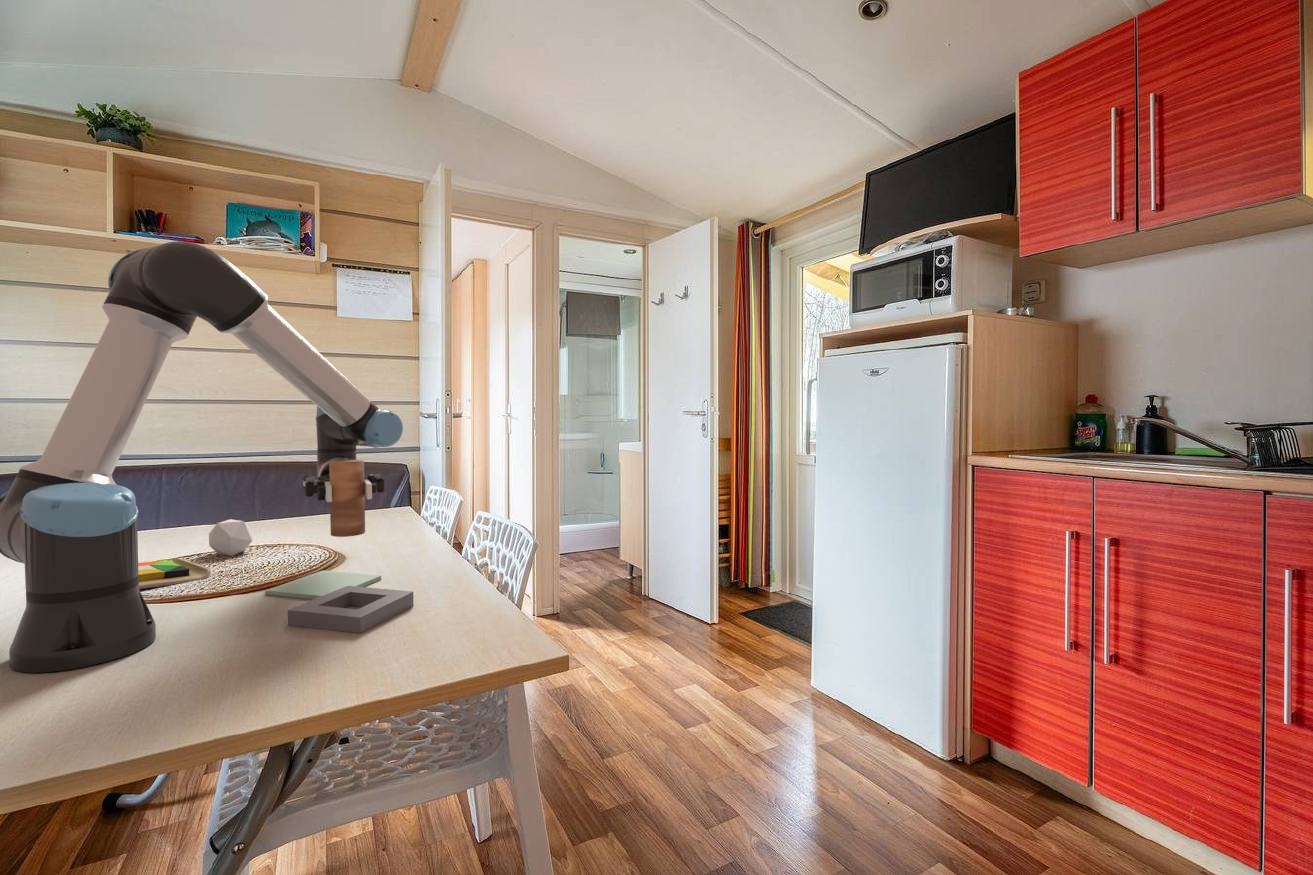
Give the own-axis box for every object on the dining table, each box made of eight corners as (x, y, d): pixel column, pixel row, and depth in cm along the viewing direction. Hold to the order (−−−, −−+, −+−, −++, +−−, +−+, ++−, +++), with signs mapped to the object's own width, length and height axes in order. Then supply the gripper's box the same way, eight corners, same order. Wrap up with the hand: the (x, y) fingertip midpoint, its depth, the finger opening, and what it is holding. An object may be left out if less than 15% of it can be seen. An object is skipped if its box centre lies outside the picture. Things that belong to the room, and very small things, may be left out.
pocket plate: (360, 633, 94) (360, 617, 94) (287, 625, 97) (287, 609, 97) (413, 605, 107) (413, 591, 107) (347, 599, 110) (347, 585, 110)
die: (261, 554, 143) (259, 518, 147) (236, 544, 135) (234, 506, 140) (227, 567, 142) (225, 530, 147) (199, 557, 135) (199, 519, 139)
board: (330, 601, 109) (330, 596, 109) (265, 594, 112) (265, 590, 112) (381, 579, 122) (381, 575, 122) (322, 574, 125) (322, 570, 125)
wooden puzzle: (213, 579, 123) (213, 562, 122) (90, 604, 107) (90, 584, 107) (178, 566, 132) (177, 550, 132) (60, 587, 116) (59, 569, 116)
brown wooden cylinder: (349, 537, 104) (348, 463, 104) (323, 535, 106) (321, 461, 105) (372, 531, 110) (370, 460, 109) (346, 529, 111) (345, 459, 110)
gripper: (389, 492, 128) (407, 510, 108) (287, 499, 118) (286, 519, 98) (389, 457, 127) (407, 468, 107) (286, 460, 118) (285, 473, 98)
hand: (349, 492), depth 103 cm, fingers closed on brown wooden cylinder, 5 cm apart
